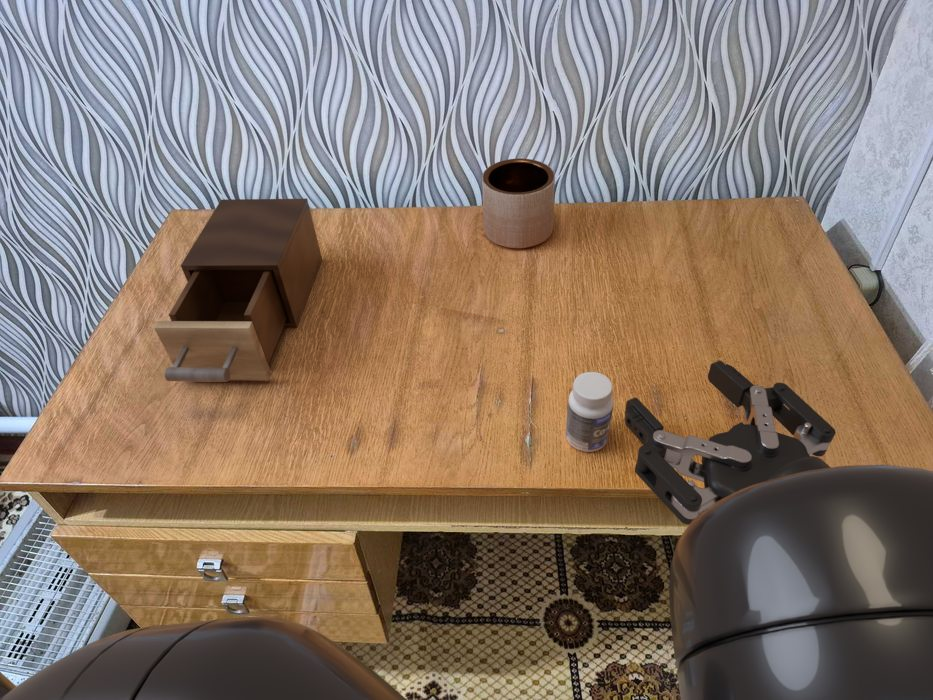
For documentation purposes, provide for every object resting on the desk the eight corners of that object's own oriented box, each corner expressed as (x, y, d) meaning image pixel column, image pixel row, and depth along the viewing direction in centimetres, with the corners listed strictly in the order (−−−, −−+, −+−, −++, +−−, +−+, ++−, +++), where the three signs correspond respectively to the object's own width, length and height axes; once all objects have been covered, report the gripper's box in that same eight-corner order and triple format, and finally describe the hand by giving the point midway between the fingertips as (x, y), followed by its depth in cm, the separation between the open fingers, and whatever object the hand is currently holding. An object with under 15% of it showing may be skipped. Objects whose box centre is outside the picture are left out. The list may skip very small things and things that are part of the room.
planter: (542, 256, 98) (544, 200, 92) (473, 244, 101) (470, 189, 95) (560, 217, 105) (563, 162, 99) (496, 207, 108) (494, 153, 102)
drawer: (257, 411, 78) (235, 359, 72) (164, 410, 79) (135, 358, 73) (298, 304, 92) (282, 252, 86) (219, 304, 93) (198, 253, 87)
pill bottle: (597, 459, 71) (604, 408, 66) (558, 442, 73) (561, 391, 68) (615, 429, 74) (623, 378, 68) (576, 413, 76) (581, 362, 70)
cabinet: (297, 328, 90) (277, 265, 82) (207, 327, 91) (180, 265, 83) (322, 259, 101) (307, 198, 93) (242, 259, 102) (221, 199, 94)
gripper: (927, 467, 43) (748, 324, 54) (760, 561, 39) (603, 386, 50) (883, 527, 49) (728, 386, 59) (732, 616, 45) (595, 447, 55)
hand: (671, 386), depth 55 cm, fingers open, 8 cm apart
